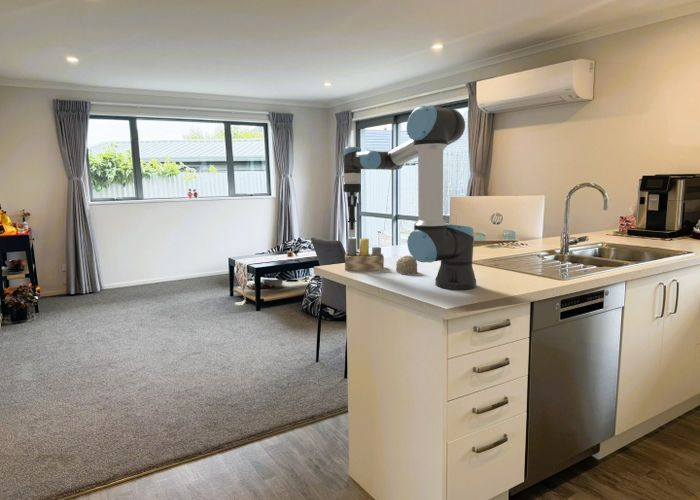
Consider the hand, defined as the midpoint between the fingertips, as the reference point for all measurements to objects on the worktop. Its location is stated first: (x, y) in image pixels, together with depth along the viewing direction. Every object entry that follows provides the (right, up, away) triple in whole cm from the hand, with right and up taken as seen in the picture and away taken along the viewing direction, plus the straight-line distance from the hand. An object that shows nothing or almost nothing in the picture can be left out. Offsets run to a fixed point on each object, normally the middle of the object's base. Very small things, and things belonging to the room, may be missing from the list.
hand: (351, 236), depth 208 cm
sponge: (+24, -16, -6) cm, 29 cm away
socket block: (+5, -14, +2) cm, 15 cm away
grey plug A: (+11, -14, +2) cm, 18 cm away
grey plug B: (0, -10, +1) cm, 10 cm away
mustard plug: (+5, -10, +1) cm, 11 cm away
